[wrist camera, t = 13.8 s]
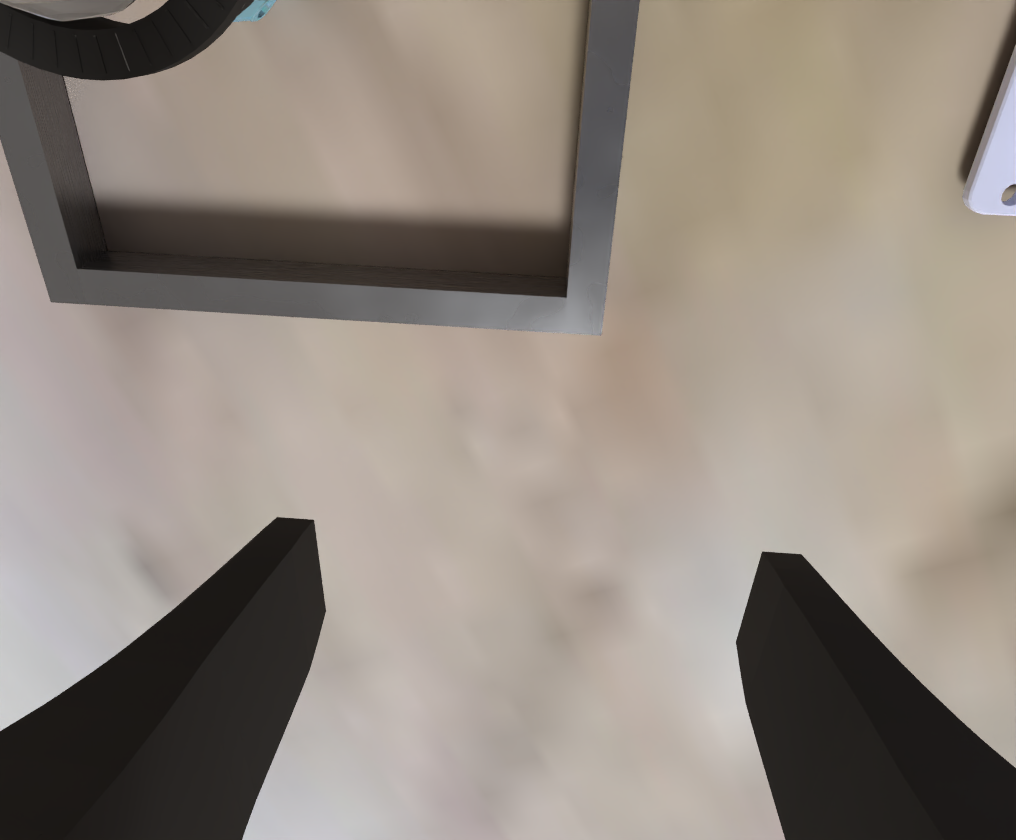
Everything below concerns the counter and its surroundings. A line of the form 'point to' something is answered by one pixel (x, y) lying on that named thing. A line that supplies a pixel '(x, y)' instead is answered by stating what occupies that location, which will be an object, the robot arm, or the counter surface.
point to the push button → (115, 34)
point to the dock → (311, 286)
